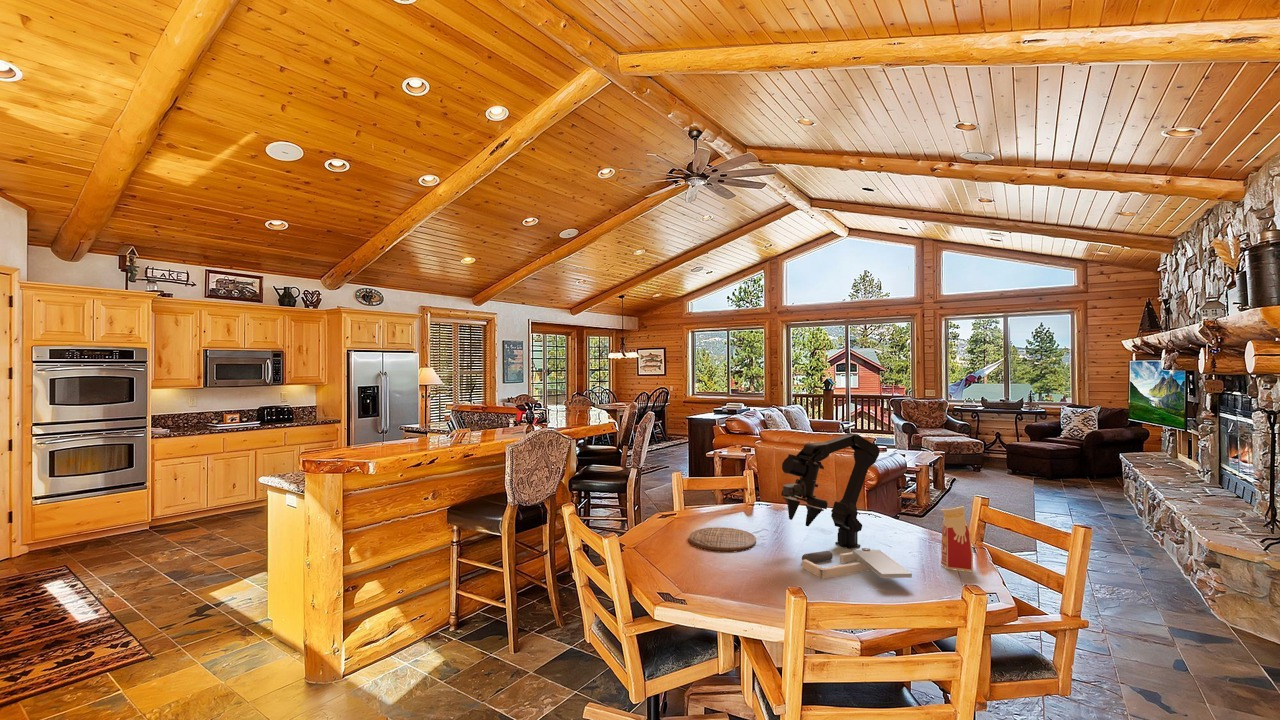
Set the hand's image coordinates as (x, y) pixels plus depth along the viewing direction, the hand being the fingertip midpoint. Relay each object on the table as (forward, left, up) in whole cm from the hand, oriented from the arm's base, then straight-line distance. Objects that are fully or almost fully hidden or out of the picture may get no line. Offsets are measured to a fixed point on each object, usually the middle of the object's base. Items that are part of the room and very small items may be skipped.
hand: (798, 522), depth 201 cm
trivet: (+17, -23, -11) cm, 31 cm away
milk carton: (-41, +29, -11) cm, 51 cm away
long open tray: (-4, +17, -11) cm, 20 cm away
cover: (-11, +26, -7) cm, 29 cm away
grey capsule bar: (-1, +9, -11) cm, 14 cm away
